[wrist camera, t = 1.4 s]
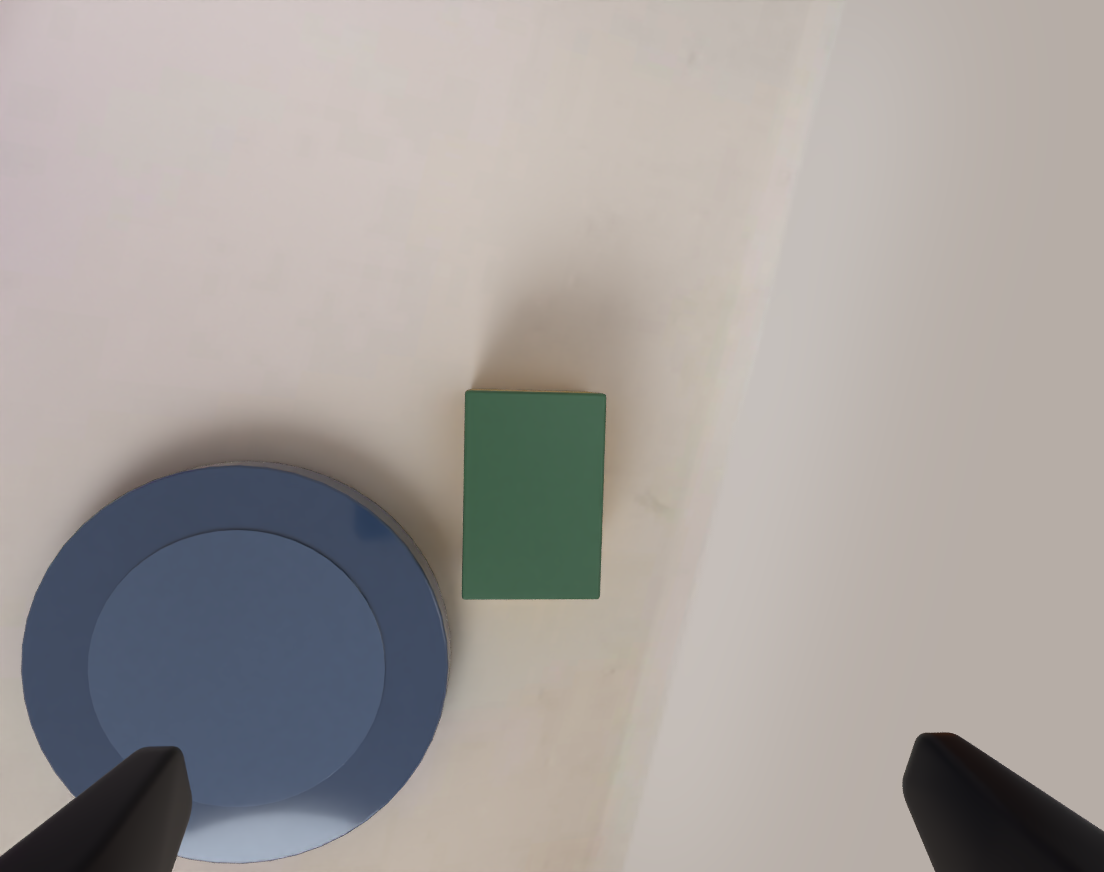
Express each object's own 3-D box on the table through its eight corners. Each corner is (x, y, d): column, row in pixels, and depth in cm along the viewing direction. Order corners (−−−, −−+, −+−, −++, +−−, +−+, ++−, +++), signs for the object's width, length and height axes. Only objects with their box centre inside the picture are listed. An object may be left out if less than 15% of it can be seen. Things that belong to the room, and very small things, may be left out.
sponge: (583, 566, 22) (600, 600, 19) (467, 566, 22) (461, 600, 18) (589, 392, 22) (606, 393, 18) (470, 389, 21) (465, 390, 18)
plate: (448, 832, 23) (445, 858, 21) (53, 845, 22) (26, 874, 20) (453, 463, 22) (451, 468, 20) (39, 457, 20) (9, 462, 19)
